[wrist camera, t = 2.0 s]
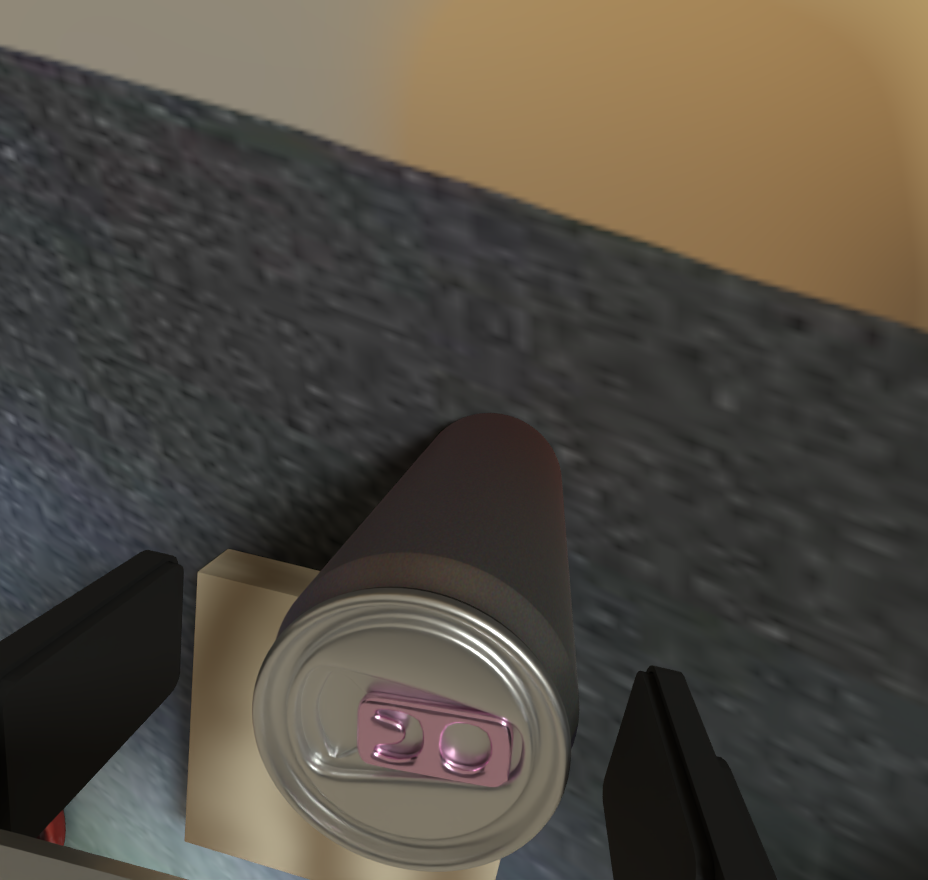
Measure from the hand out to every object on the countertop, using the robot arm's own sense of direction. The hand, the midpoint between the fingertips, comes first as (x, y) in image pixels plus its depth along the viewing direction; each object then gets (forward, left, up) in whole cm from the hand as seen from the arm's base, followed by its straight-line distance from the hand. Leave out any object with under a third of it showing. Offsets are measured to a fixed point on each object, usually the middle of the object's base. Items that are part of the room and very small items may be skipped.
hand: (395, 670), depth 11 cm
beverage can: (-1, 0, -14) cm, 14 cm away
